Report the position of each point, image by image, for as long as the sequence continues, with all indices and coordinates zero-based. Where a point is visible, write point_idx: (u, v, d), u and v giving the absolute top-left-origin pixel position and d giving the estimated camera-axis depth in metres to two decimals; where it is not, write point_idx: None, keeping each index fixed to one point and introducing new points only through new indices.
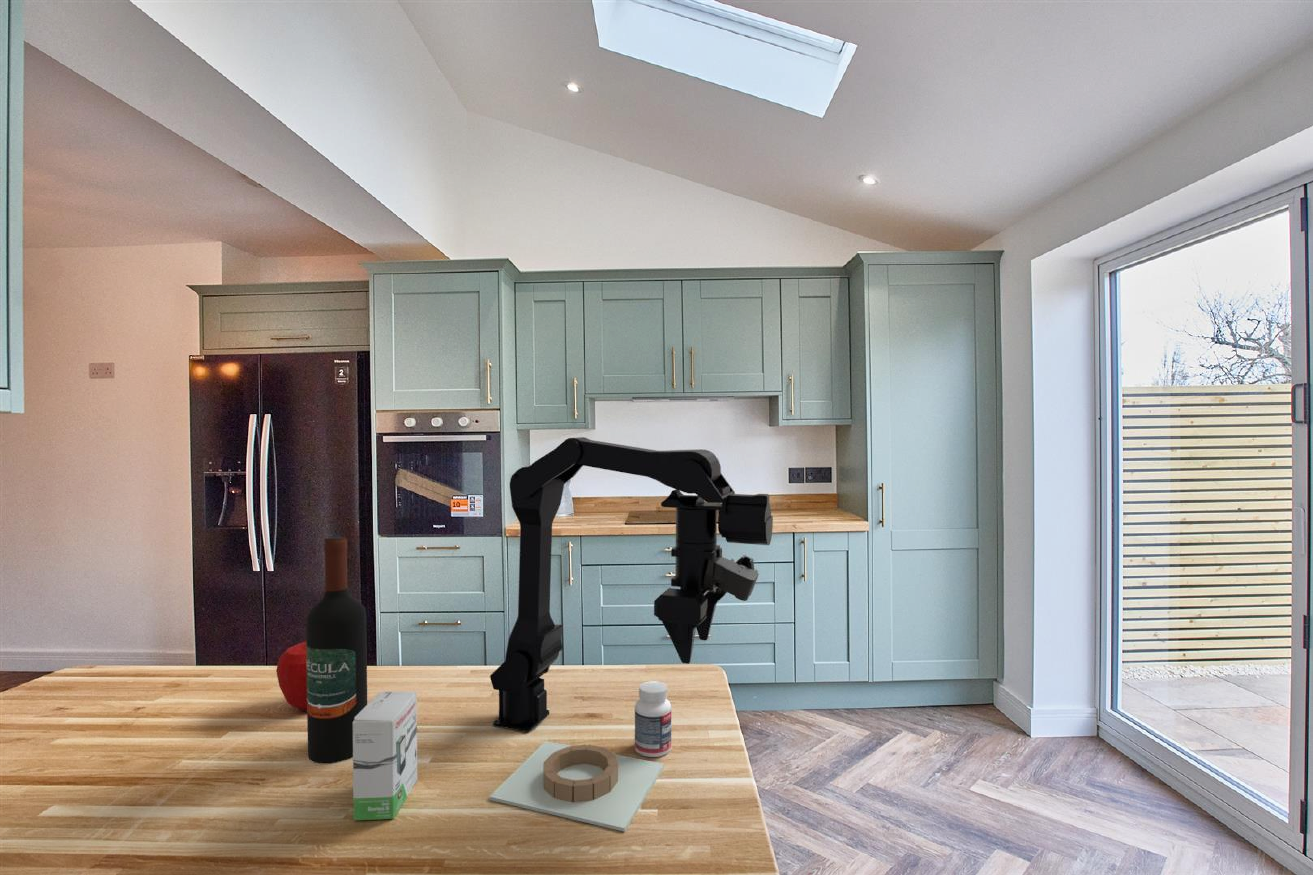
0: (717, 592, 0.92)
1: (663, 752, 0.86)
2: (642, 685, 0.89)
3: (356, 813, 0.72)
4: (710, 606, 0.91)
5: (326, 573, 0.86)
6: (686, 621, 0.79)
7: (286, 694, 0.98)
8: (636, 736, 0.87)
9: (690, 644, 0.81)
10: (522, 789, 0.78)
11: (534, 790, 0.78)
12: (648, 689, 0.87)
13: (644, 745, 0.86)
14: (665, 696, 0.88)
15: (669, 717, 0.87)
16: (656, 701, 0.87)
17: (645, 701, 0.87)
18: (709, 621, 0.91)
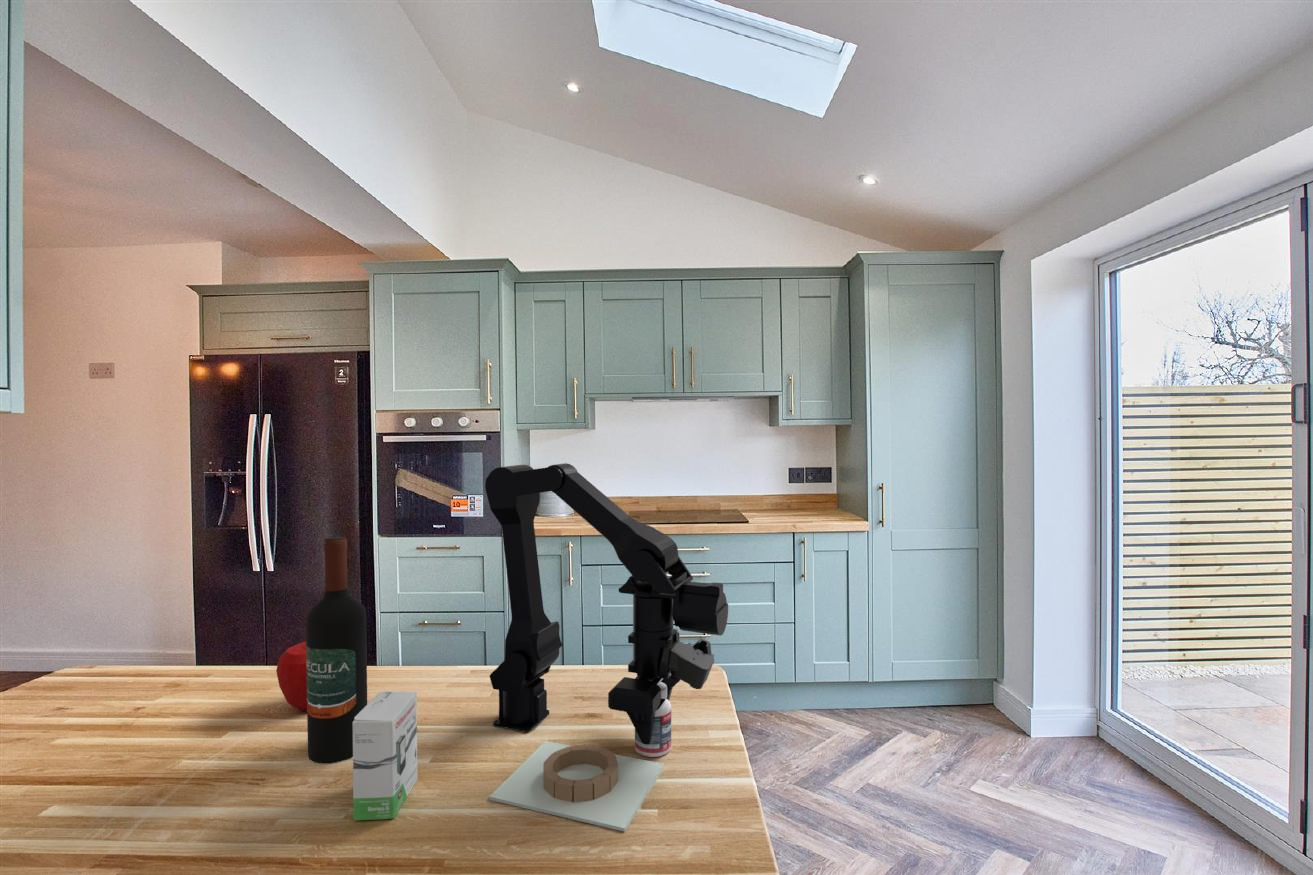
0: (673, 677, 0.91)
1: (663, 752, 0.86)
2: None
3: (356, 813, 0.72)
4: None
5: (326, 573, 0.86)
6: None
7: (286, 694, 0.98)
8: (636, 736, 0.87)
9: (649, 727, 0.85)
10: (522, 789, 0.78)
11: (534, 790, 0.78)
12: None
13: (644, 745, 0.86)
14: (665, 696, 0.88)
15: (669, 717, 0.87)
16: None
17: None
18: None
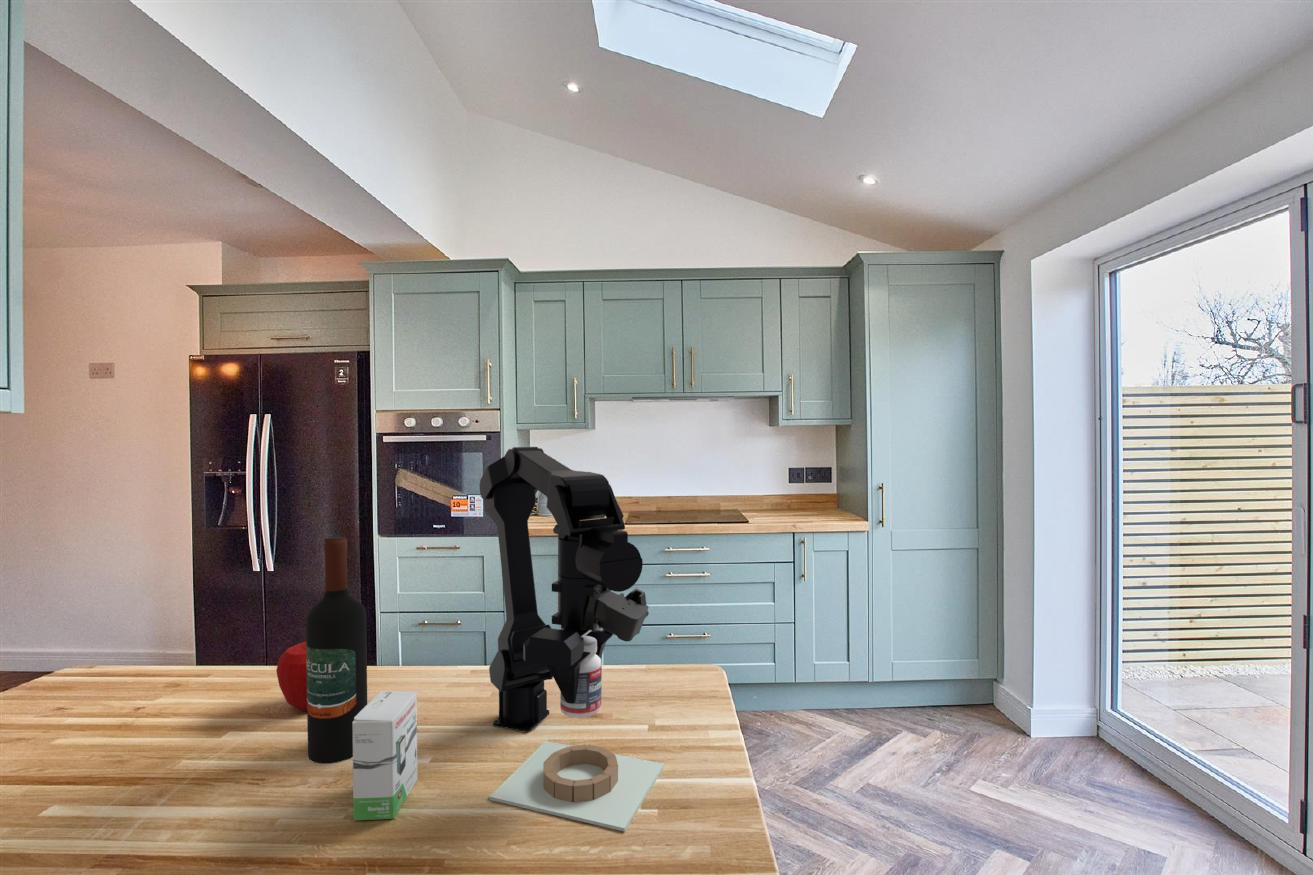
0: (605, 632, 0.83)
1: (590, 712, 0.78)
2: None
3: (356, 813, 0.72)
4: (597, 648, 0.83)
5: (326, 573, 0.86)
6: None
7: (286, 694, 0.98)
8: (561, 695, 0.79)
9: (573, 683, 0.76)
10: (522, 789, 0.78)
11: (534, 790, 0.78)
12: None
13: (569, 704, 0.78)
14: (594, 651, 0.79)
15: (598, 674, 0.79)
16: None
17: None
18: None
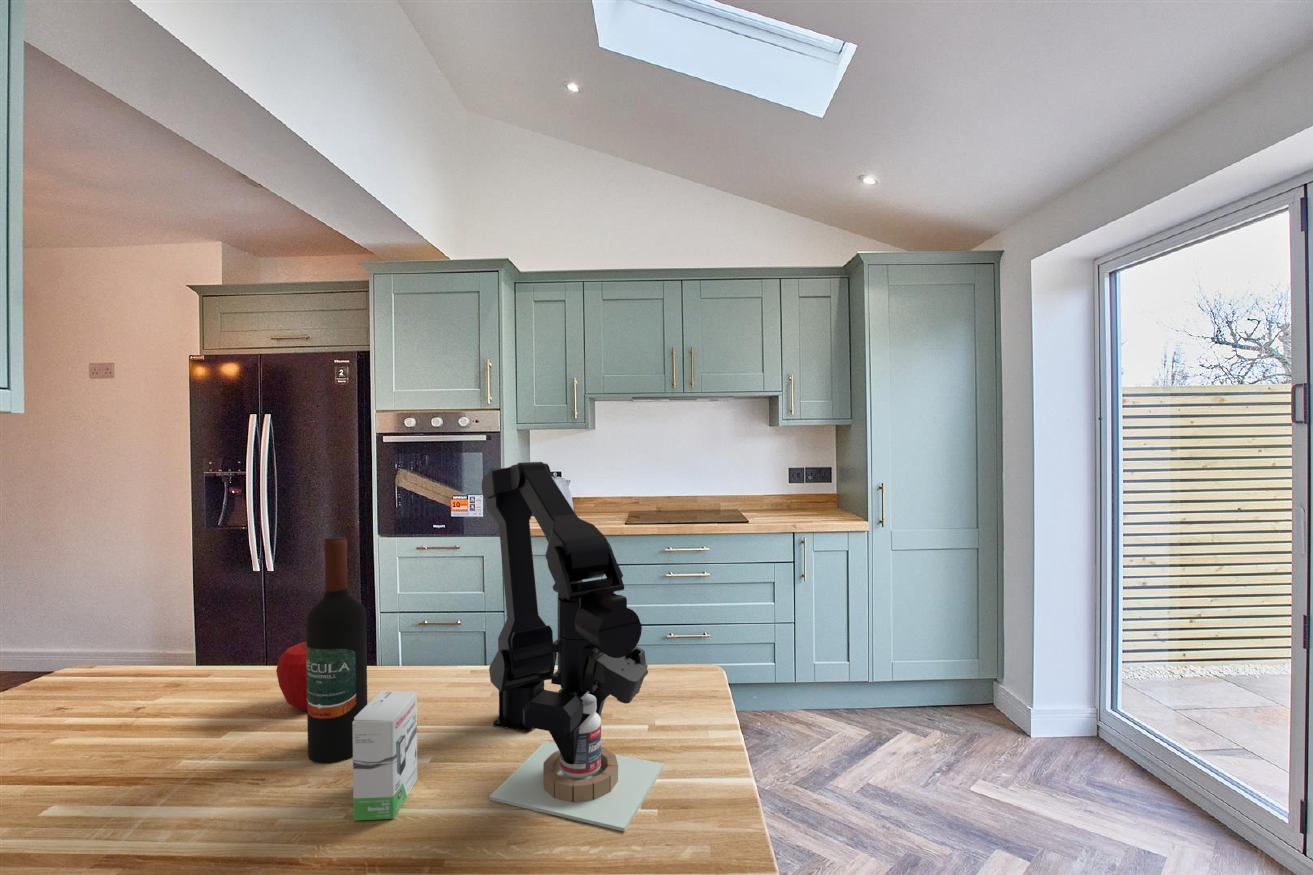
0: None
1: (590, 772, 0.78)
2: None
3: (356, 813, 0.72)
4: (597, 704, 0.83)
5: (326, 573, 0.86)
6: None
7: (286, 694, 0.98)
8: None
9: (572, 745, 0.76)
10: (522, 789, 0.78)
11: (534, 790, 0.78)
12: None
13: (568, 765, 0.78)
14: (593, 710, 0.79)
15: (598, 734, 0.79)
16: None
17: None
18: None
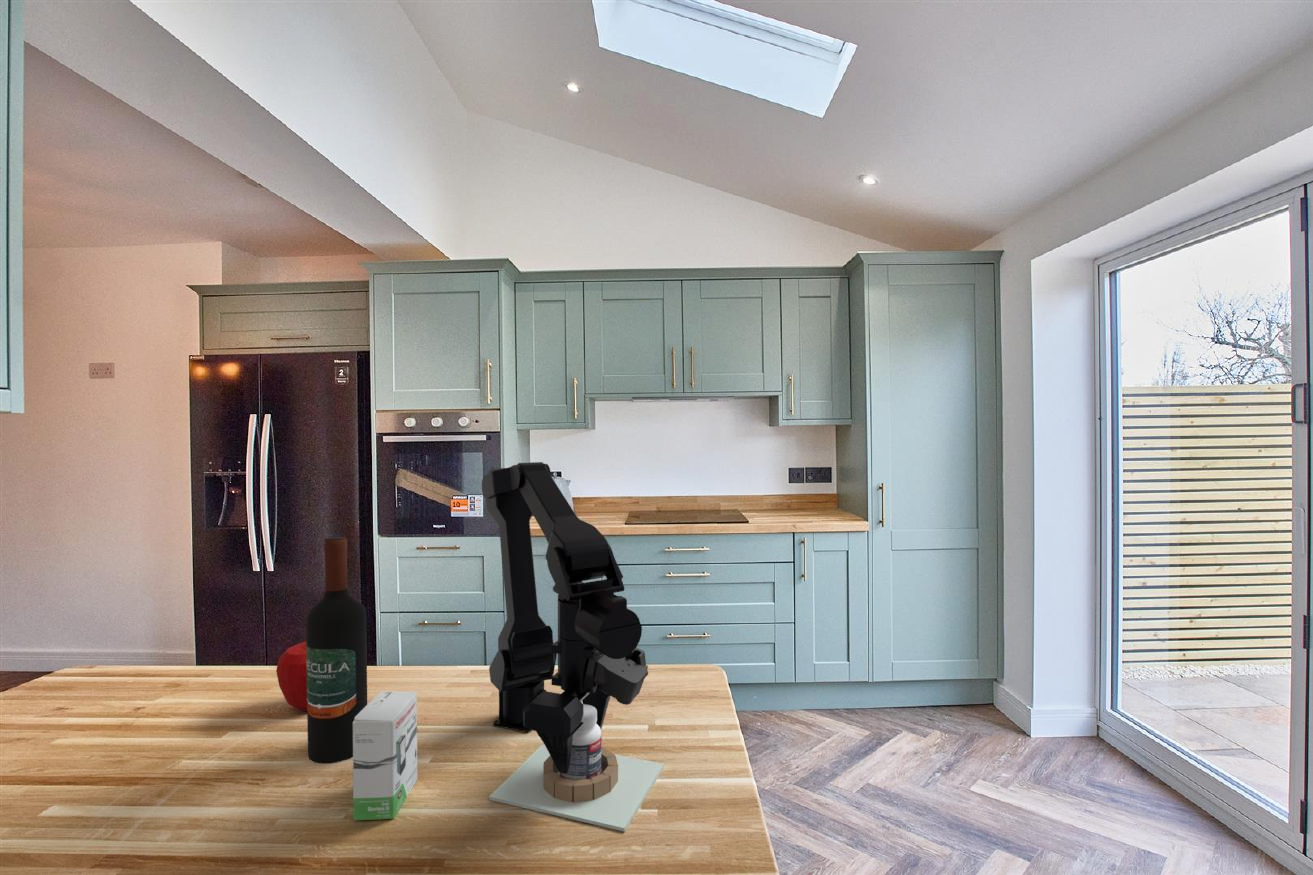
0: None
1: None
2: None
3: (356, 813, 0.72)
4: (603, 700, 0.84)
5: (326, 573, 0.86)
6: None
7: (286, 694, 0.98)
8: None
9: (566, 754, 0.74)
10: (522, 789, 0.78)
11: (534, 790, 0.78)
12: None
13: (569, 776, 0.78)
14: (594, 722, 0.79)
15: (598, 745, 0.79)
16: (583, 728, 0.78)
17: None
18: (601, 716, 0.84)
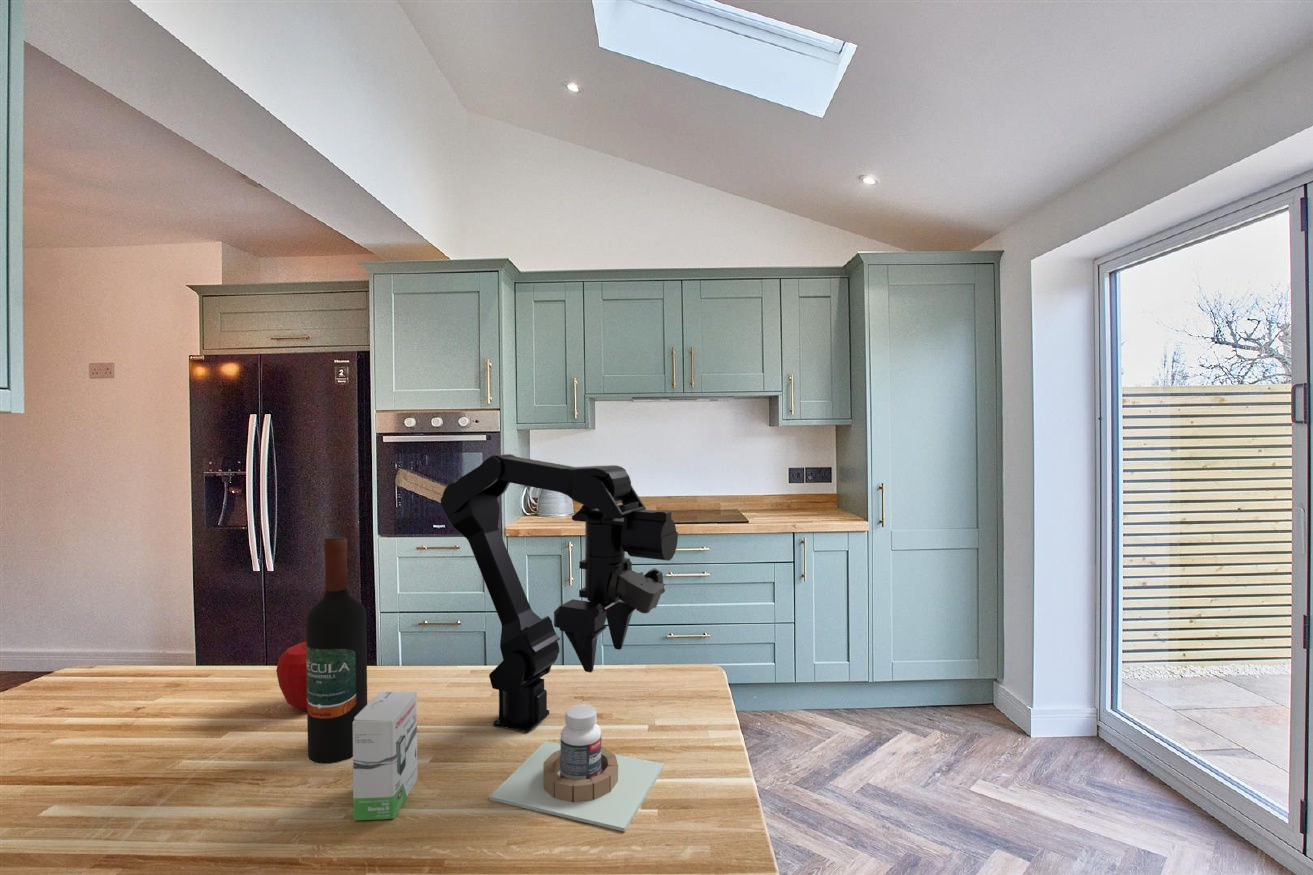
0: None
1: None
2: (569, 709, 0.80)
3: (356, 813, 0.72)
4: (625, 617, 0.95)
5: (326, 573, 0.86)
6: (583, 632, 0.82)
7: (286, 694, 0.98)
8: (561, 766, 0.79)
9: (591, 654, 0.85)
10: (522, 789, 0.78)
11: (534, 790, 0.78)
12: (575, 714, 0.79)
13: (569, 776, 0.78)
14: (594, 722, 0.79)
15: (598, 745, 0.79)
16: (583, 728, 0.78)
17: (571, 727, 0.79)
18: (623, 631, 0.94)
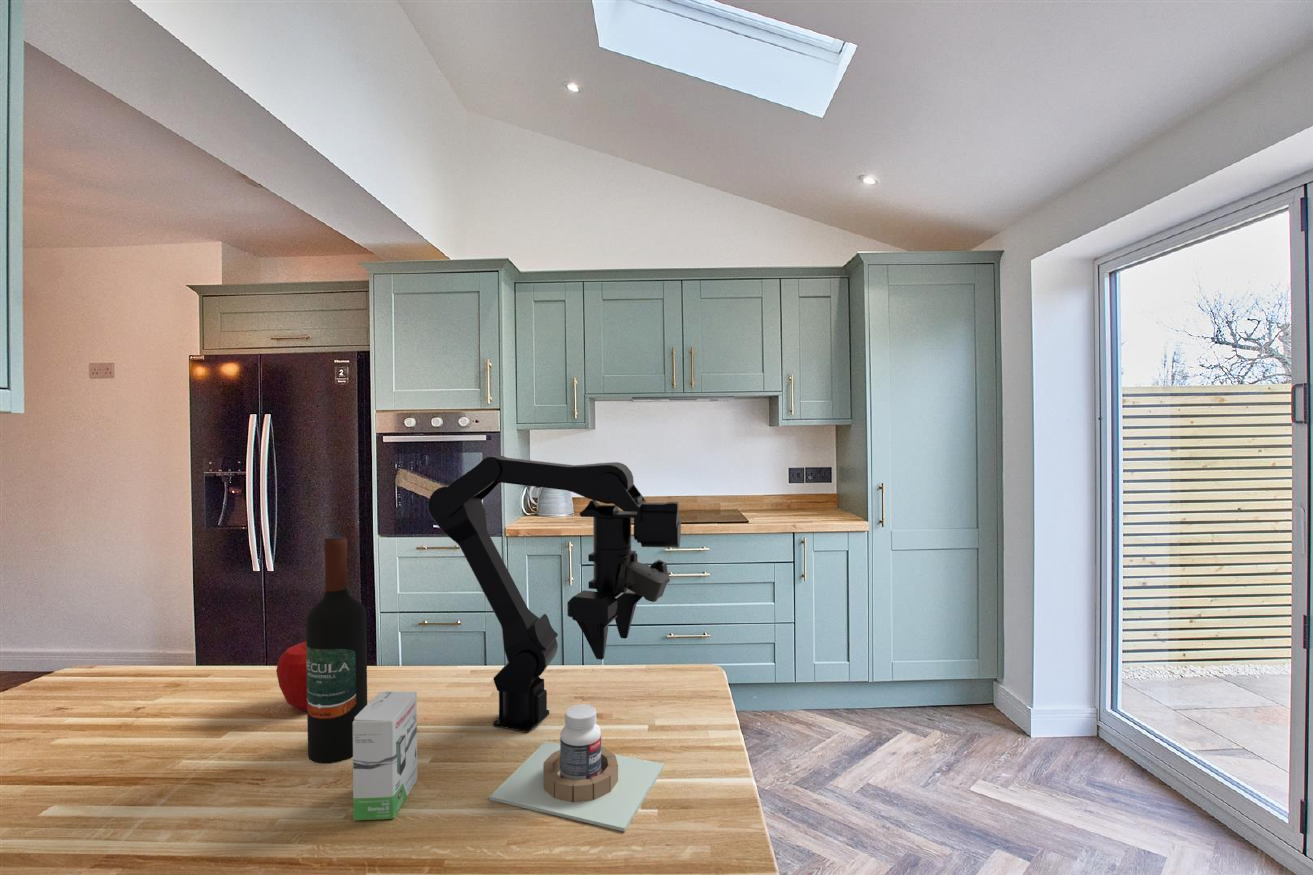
0: (636, 594, 0.99)
1: None
2: (568, 709, 0.80)
3: (356, 813, 0.72)
4: (630, 607, 0.99)
5: (326, 573, 0.86)
6: (596, 620, 0.87)
7: (286, 694, 0.98)
8: (561, 766, 0.79)
9: (602, 642, 0.89)
10: (522, 789, 0.78)
11: (534, 790, 0.78)
12: (574, 714, 0.79)
13: (569, 777, 0.78)
14: (593, 722, 0.79)
15: (598, 745, 0.79)
16: (583, 728, 0.78)
17: (570, 727, 0.79)
18: (628, 620, 0.99)
